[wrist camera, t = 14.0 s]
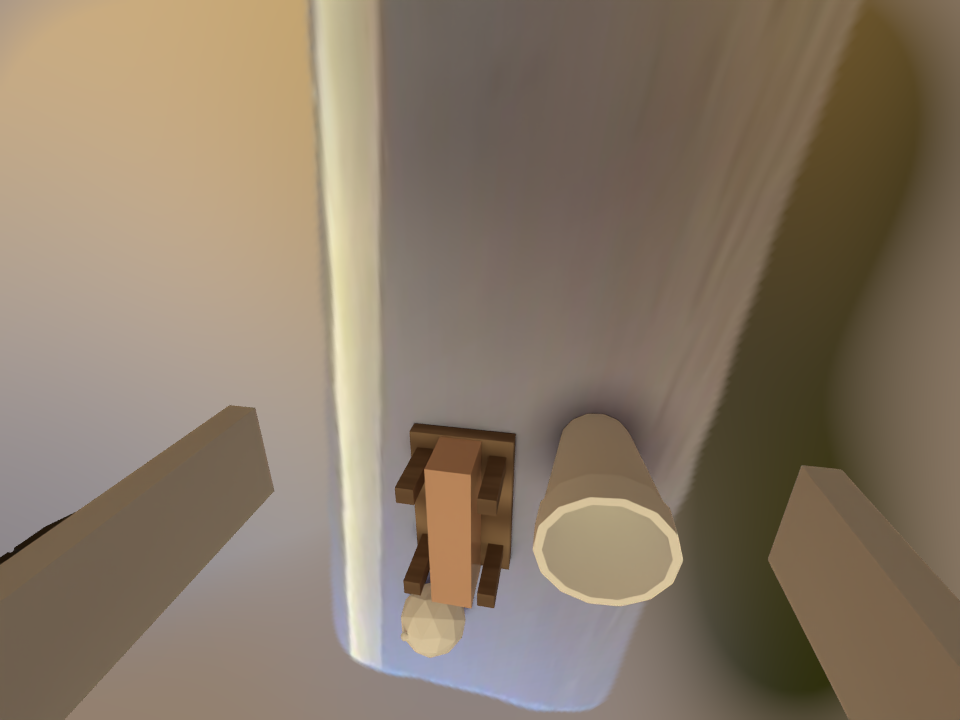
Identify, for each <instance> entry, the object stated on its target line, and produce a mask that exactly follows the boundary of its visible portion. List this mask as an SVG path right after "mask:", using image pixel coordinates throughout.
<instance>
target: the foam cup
mask: <svg viewBox="0 0 960 720" xmlns="http://www.w3.org/2000/svg"><path fill="white" fill-rule="evenodd" d="M533 551H534V554H535V557H536V560H537V563H538V566H539V568H540V571H541V573H542V574H543V575H544V576H545V577H546V578H547V579H548V580H550V581H551V582H552V583H553V584H554V585H555V586H556V587H557V588H558V589H559V590H560V591H561V592H564V593H566V594H568V595H571V596H573V597H575V598H578V599H580V600H582V601H585V602H587V603H592V604H602V605H612V606H623V605H628V604H632V603H637V602H641V601H646V600H650V599H651V598H653V597H654V596H656V595H657V594H659V593H660V592H661V591H663V590H664V589H666V588H667V587H668V586H670V585H671V584H673V582H674V580H675V577H676V575H677V573H678V571H679V569H680V566H681V564H682V562H683V557H682V553H681V548H680V543H679V538H678V534H677V530H676V527H675V524H674V520H673V517H672V514H671V510H670V508H669V507H668V506H667V505H666V504H665V503H664V502H663V500H662V498H661V496H660V494H659V492H658V490H657V488H656V486H655V484H654V482H653V480H652V478H651V476H650V474H649V472H648V470H647V468H646V466H645V464H644V462H643V460H642V458H641V456H640V454H639V452H638V450H637V448H636V446H635V444H634V442H633V440H632V438H631V436H630V434H629V433H628V431H627V429H626V428H625V427H624V426H623V425H622V424H621V423H620V422H619V421H618V420H616V419H614V418H612V417H609V416H607V415H605V414H585V415H583V416H580V417H578V418H575V419H573V420H572V421H571V422H570V423H569V424H568V425H567V426H566V427H565V428H564V429H563V432H562V435H561V439H560V442H559V446H558V450H557V454H556V457H555V461H554V465H553V468H552V472H551V476H550V479H549V483H548V487H547V491H546V494H545V498H544V499H543V500H542V501H541V502H540V506H539V510H538V514H537V519H536V523H535V531H534V541H533Z"/></svg>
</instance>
